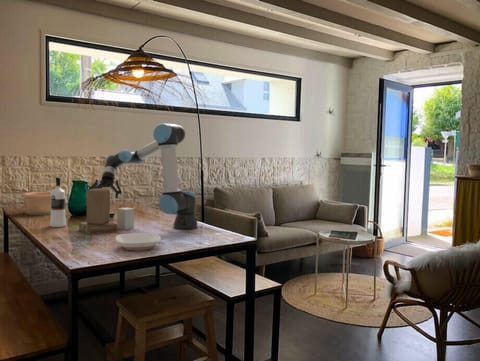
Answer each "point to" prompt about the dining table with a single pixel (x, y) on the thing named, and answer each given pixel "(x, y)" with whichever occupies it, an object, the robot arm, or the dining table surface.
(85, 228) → the plinth
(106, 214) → the block
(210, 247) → the dining table surface
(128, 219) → the white canister
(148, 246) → the bowl
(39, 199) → the pottery
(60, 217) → the vodka
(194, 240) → the dining table surface
